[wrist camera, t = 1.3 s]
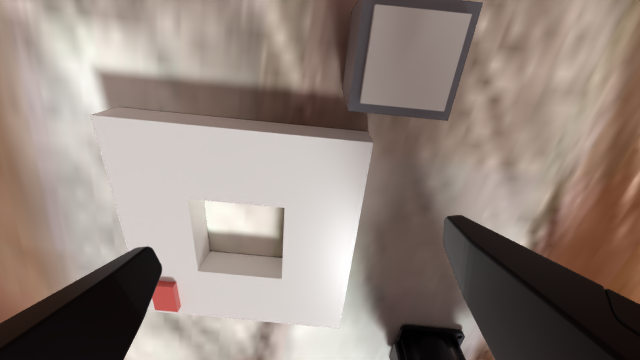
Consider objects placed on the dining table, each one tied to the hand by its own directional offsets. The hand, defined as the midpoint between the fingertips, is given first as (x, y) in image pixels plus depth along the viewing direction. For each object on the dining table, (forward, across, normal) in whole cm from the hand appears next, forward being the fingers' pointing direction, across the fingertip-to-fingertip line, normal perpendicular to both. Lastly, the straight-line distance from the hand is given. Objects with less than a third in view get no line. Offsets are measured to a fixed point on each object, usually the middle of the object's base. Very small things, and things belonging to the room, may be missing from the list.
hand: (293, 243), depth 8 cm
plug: (+13, -5, -4) cm, 14 cm away
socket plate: (+13, +7, +8) cm, 16 cm away
